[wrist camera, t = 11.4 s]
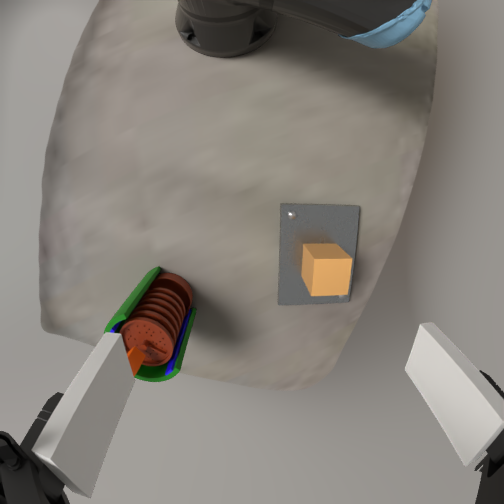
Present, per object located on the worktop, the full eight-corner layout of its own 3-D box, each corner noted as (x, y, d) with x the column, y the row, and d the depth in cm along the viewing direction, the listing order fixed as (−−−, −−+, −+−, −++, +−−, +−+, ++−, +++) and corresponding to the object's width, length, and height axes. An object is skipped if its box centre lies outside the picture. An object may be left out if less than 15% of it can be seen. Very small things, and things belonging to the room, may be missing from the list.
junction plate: (280, 203, 41) (286, 209, 35) (356, 205, 41) (371, 211, 36) (277, 302, 45) (281, 319, 40) (346, 299, 46) (357, 315, 40)
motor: (208, 296, 45) (187, 382, 26) (178, 330, 47) (150, 417, 28) (157, 258, 43) (102, 326, 24) (131, 296, 45) (78, 370, 26)
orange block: (303, 243, 41) (314, 259, 35) (336, 243, 42) (352, 258, 35) (301, 276, 43) (311, 296, 36) (333, 275, 43) (347, 294, 36)
